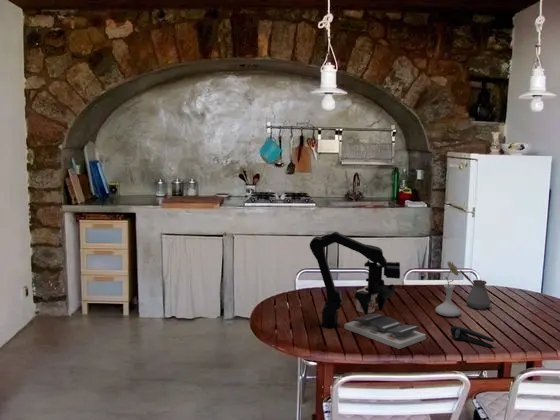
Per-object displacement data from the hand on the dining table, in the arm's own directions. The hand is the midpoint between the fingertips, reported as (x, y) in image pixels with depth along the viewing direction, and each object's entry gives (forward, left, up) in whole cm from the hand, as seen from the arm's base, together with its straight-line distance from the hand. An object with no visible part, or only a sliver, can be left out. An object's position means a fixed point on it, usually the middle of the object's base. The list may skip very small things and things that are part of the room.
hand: (373, 312), depth 232 cm
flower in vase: (+44, -8, -7) cm, 45 cm away
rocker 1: (0, +2, -3) cm, 4 cm away
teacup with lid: (+18, +18, -7) cm, 27 cm away
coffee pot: (+68, -6, -7) cm, 69 cm away
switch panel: (0, -7, -7) cm, 10 cm away
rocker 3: (0, -16, -3) cm, 16 cm away
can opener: (+21, -34, -8) cm, 41 cm away
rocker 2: (0, -7, -3) cm, 8 cm away
